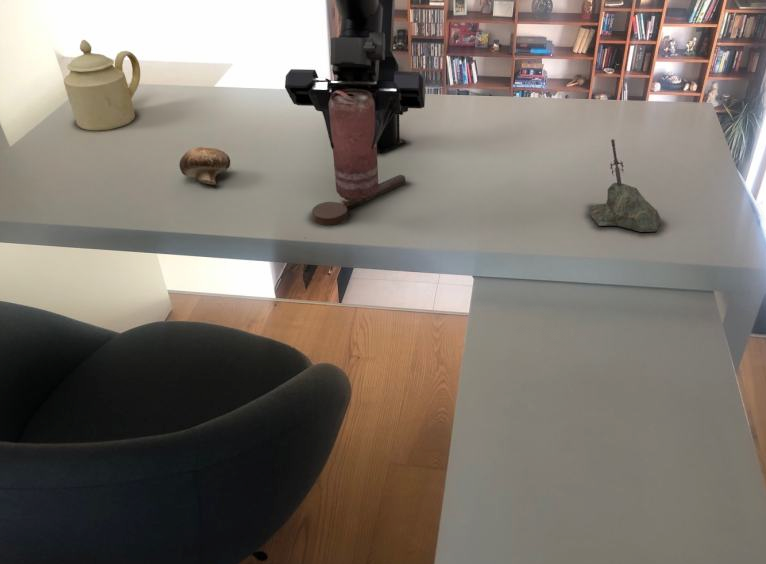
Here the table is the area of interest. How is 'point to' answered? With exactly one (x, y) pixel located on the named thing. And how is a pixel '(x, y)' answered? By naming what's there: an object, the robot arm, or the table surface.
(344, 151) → the can
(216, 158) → the mushroom
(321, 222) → the wooden spoon
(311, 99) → the robot arm
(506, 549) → the table surface
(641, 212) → the sword in stone
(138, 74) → the beige ceramic pot
